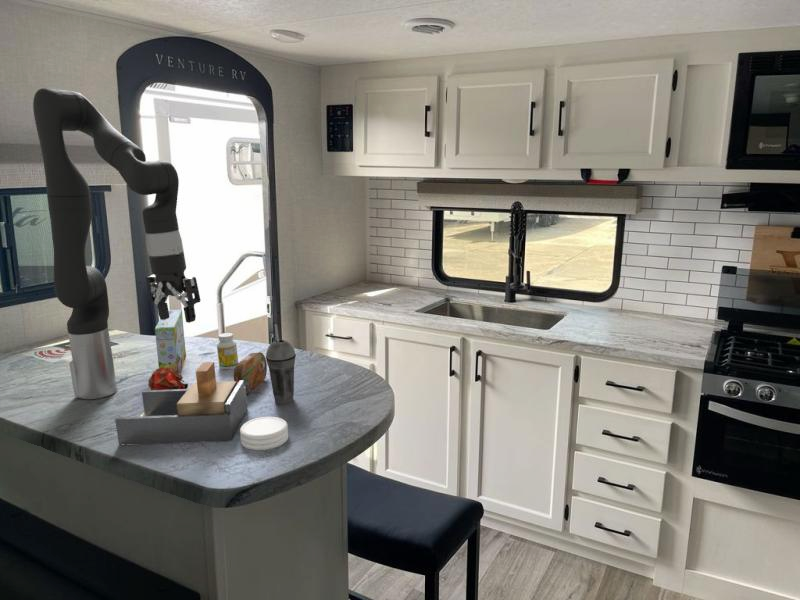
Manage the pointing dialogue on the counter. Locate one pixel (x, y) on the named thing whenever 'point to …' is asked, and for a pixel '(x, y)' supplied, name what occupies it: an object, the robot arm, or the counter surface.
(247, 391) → the tin
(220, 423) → the bay
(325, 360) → the counter surface
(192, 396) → the wooden block with upright
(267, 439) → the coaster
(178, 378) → the dragon fruit
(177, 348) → the snack box
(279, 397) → the beverage cup
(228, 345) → the supplement bottle
